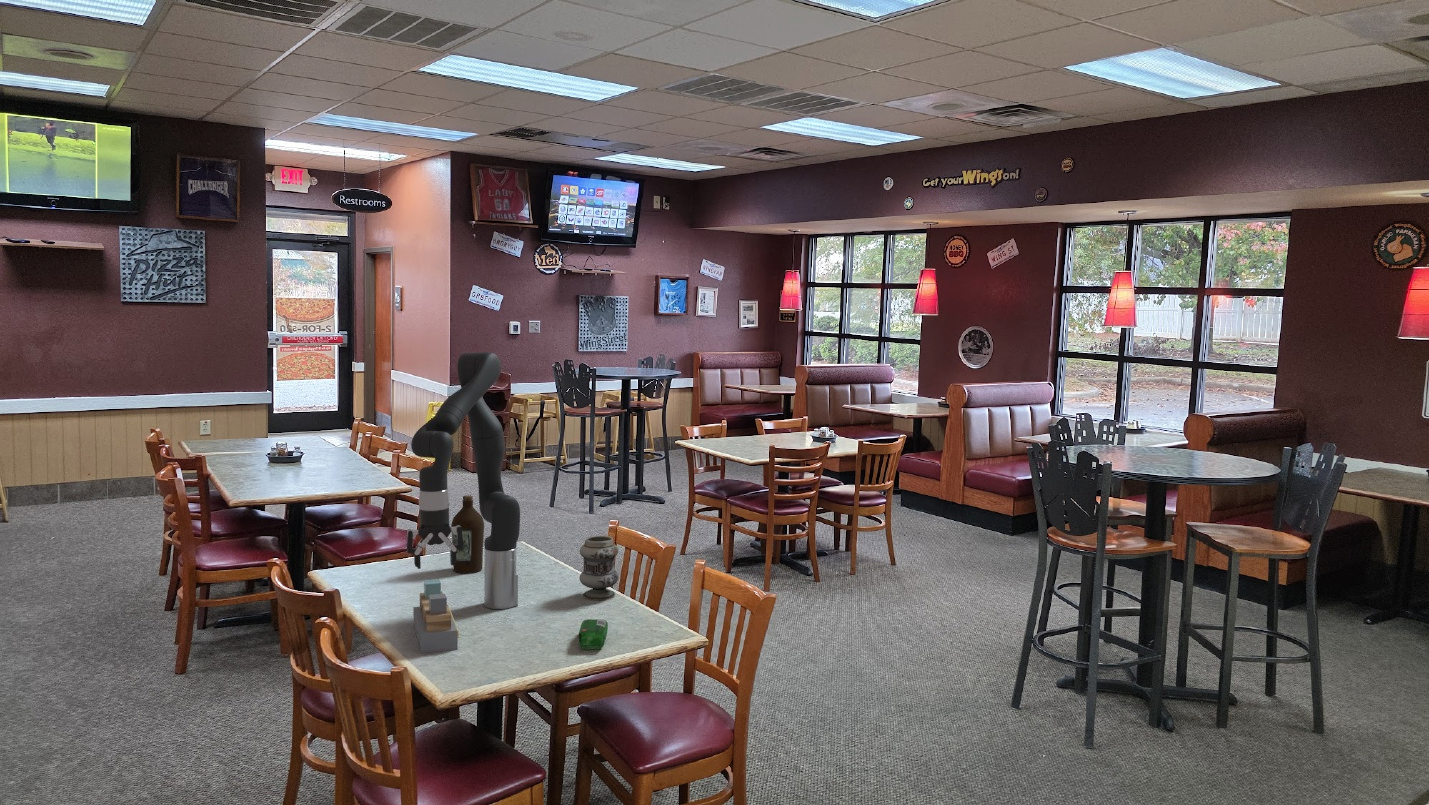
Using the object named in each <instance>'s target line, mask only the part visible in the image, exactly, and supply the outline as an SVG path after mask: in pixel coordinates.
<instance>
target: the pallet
mask: <svg viewBox="0 0 1429 805" xmlns="http://www.w3.org/2000/svg"><path fill="white" fill-rule="evenodd" d="M441 594H444V592H443V591H441ZM448 606H449V604H447V613H442V614H432V615H431V614H430V611H429V599H425V596H424V592H419V607H420V610H423V620H424V622H426V630H427V632H432V631H442V630H451V613H452V612H451V613H450V611H451V609H450V610H449V608H450V607H448Z"/></svg>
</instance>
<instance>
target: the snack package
mask: <svg viewBox="0 0 1429 805" xmlns="http://www.w3.org/2000/svg"><path fill="white" fill-rule="evenodd" d="M608 625H609V623H608V621H607V620H605V619H600V618H599V619H595V618H594V619H592V618H589V619H584V620H583V621H582V622H581V625H580V626H579V627H580V629H579V631H578V644H579V646H580V648H581V649H584V650H601V649H602V648H604V646H605V644H606V638H607V635H608V627H609V626H608Z"/></svg>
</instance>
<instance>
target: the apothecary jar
mask: <svg viewBox="0 0 1429 805" xmlns="http://www.w3.org/2000/svg"><path fill="white" fill-rule="evenodd" d="M614 543H615V542H614V538H613V537H611V536H608V535H593V536H588V537H585V539H584V544H583V545H581V547H580V548H579V554H580V556H581V557H583V569H582V570H583V571H582V572H581V573H580V575H579V576H578V577H579V578H578V579H579V582H580V583H581V585H583V586H585V587H587V588H589V589H588V590H586V591H584V592H583V594H582V597H583V598H584V599H586V600H591V601H605V600H610V599H612V598H615V596H616V593H615V592H614V591H613V590H611V589H608V588H610V587H613V586H614V585H615V584H617V582H618V581H619V578H620V576H619V573H618V572H617V571H616V568H615V557H616V556H617V555H618V554H619V547H618V546H617V545H616V544H614Z"/></svg>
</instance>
